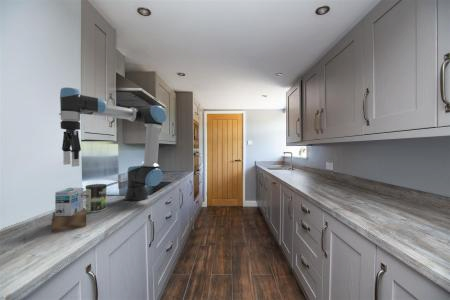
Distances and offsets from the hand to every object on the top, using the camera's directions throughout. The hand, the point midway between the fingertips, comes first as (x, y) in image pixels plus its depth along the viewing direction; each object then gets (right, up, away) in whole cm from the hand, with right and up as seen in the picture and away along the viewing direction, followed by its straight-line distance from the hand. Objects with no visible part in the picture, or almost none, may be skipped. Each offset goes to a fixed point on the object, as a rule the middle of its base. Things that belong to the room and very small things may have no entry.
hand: (71, 165), depth 98 cm
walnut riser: (+2, -28, -4) cm, 28 cm away
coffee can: (0, -27, +19) cm, 33 cm away
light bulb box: (+2, -22, -4) cm, 22 cm away
